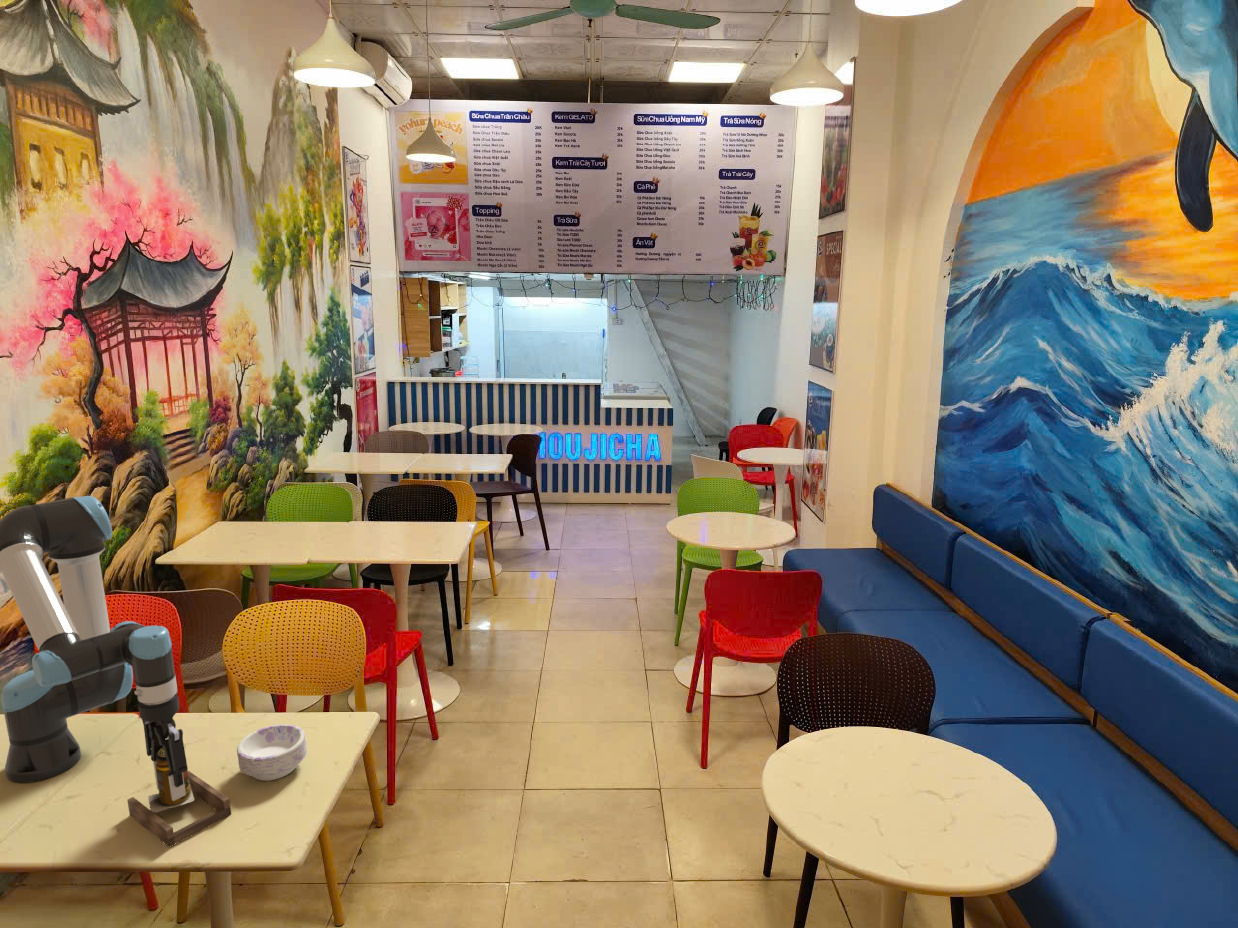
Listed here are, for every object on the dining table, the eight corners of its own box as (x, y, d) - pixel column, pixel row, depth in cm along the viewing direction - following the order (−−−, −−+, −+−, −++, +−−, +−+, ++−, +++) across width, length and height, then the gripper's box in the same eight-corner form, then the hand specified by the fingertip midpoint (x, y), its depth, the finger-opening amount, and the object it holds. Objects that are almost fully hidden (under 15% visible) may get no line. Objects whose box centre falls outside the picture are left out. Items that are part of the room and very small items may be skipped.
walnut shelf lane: (129, 815, 181) (127, 799, 180) (190, 785, 192) (188, 770, 191) (169, 847, 171) (166, 830, 170) (231, 814, 181) (229, 798, 180)
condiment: (194, 800, 182) (188, 752, 179) (151, 814, 177) (144, 765, 175) (190, 784, 188) (183, 737, 185) (148, 797, 183) (141, 749, 181)
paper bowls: (235, 793, 189) (231, 762, 187) (245, 757, 203) (242, 728, 201) (305, 782, 193) (302, 752, 191) (310, 747, 207) (307, 719, 205)
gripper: (119, 691, 179) (133, 784, 185) (161, 718, 168) (175, 816, 174) (154, 678, 185) (167, 768, 190) (197, 703, 174) (210, 798, 179)
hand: (171, 791), depth 182 cm, fingers closed on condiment, 6 cm apart
